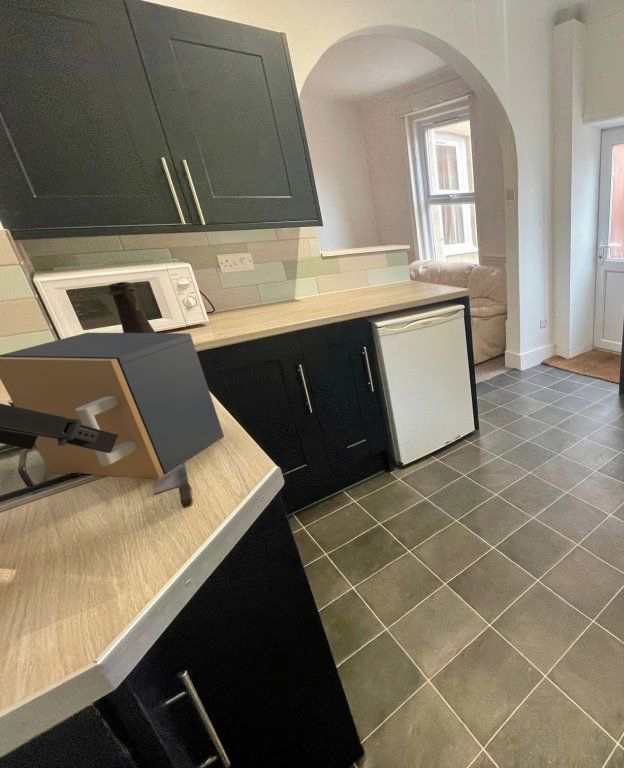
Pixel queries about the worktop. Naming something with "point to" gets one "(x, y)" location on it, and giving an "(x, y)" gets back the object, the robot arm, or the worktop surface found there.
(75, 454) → the cupboard door
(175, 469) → the cleaver
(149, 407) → the cupboard
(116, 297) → the dark brown vase
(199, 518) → the worktop surface
